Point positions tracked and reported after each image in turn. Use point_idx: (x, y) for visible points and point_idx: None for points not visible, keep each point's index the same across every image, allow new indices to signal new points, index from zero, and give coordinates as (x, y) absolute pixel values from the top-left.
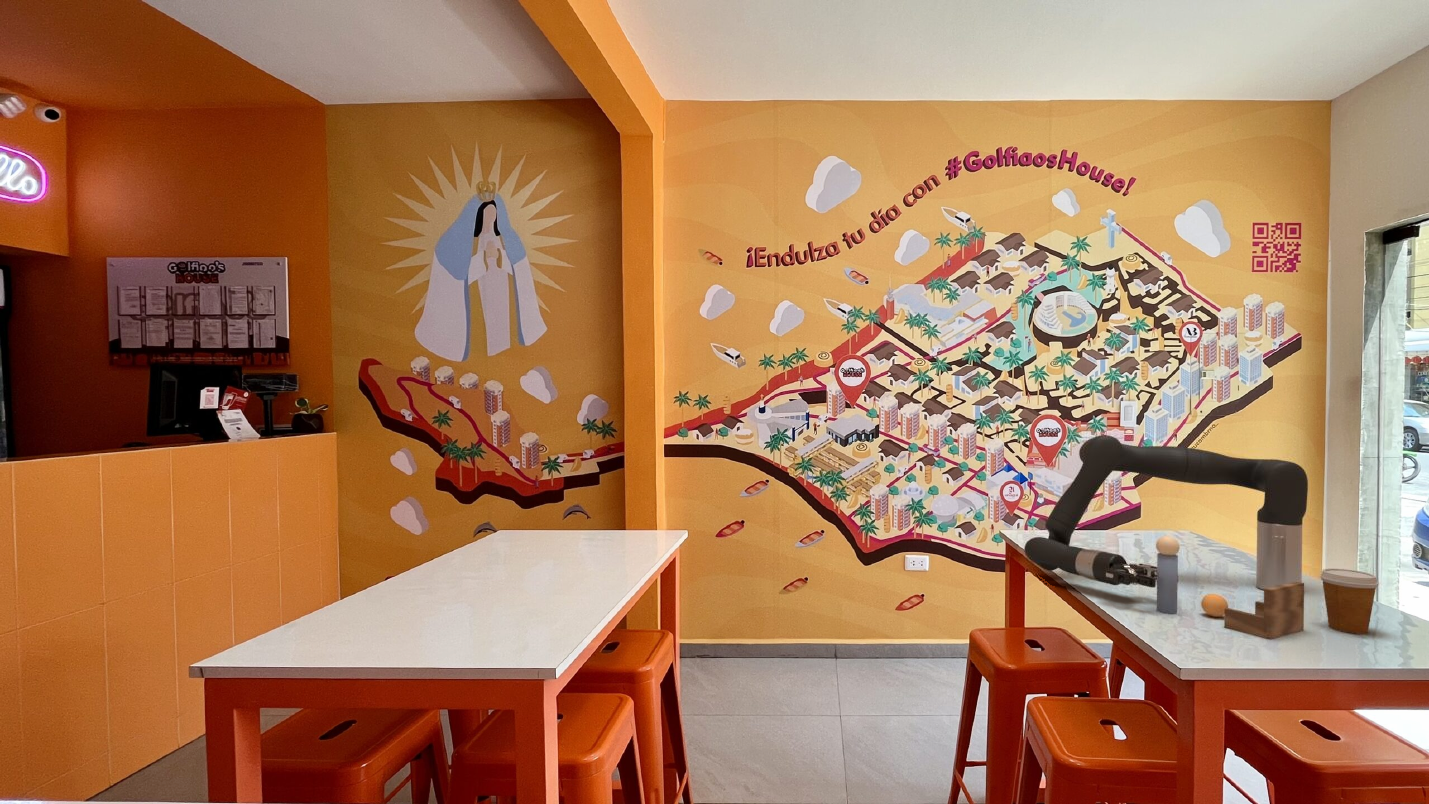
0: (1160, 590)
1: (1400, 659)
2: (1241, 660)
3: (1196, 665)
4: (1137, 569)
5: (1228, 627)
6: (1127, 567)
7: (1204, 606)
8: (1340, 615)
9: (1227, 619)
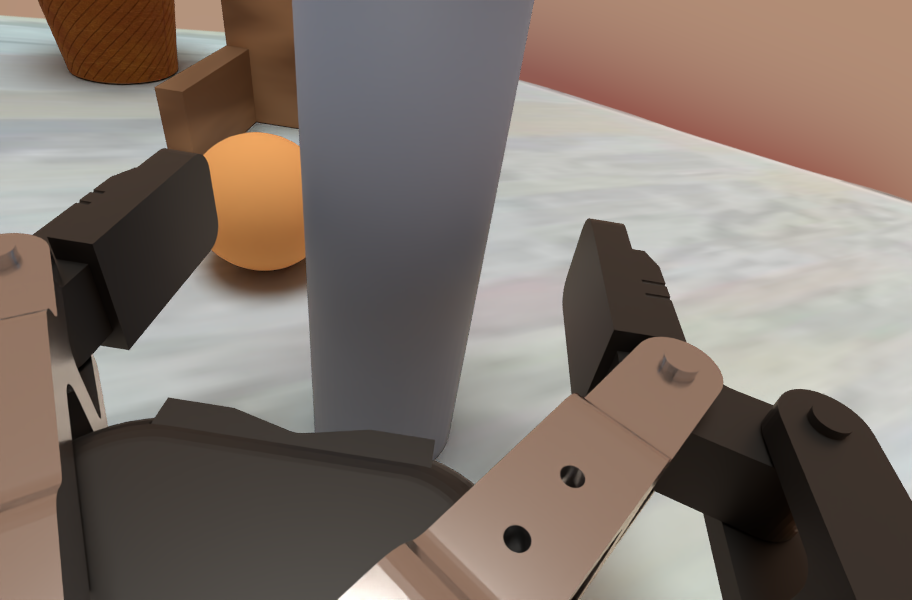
0: (472, 310)
1: None
2: (738, 167)
3: (909, 207)
4: (232, 479)
5: None
6: (509, 564)
7: None
8: (167, 19)
9: None
